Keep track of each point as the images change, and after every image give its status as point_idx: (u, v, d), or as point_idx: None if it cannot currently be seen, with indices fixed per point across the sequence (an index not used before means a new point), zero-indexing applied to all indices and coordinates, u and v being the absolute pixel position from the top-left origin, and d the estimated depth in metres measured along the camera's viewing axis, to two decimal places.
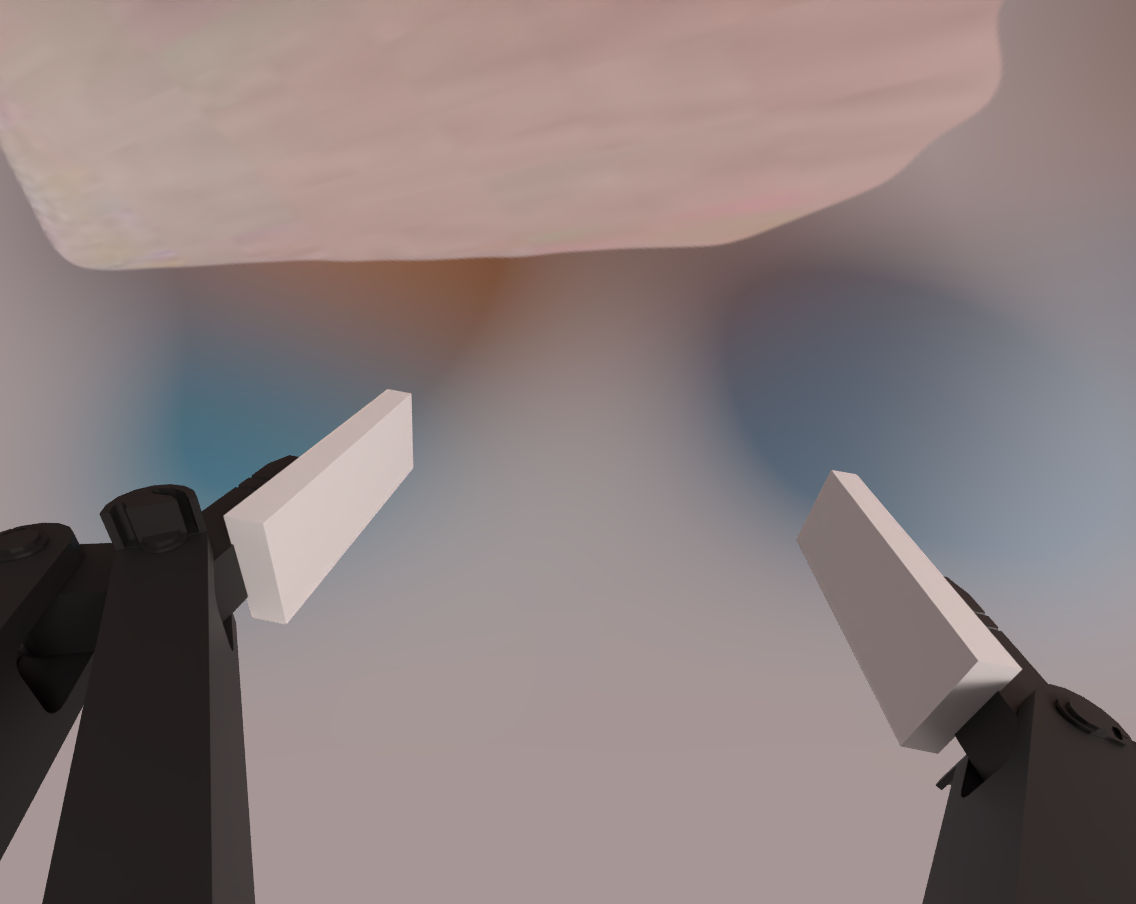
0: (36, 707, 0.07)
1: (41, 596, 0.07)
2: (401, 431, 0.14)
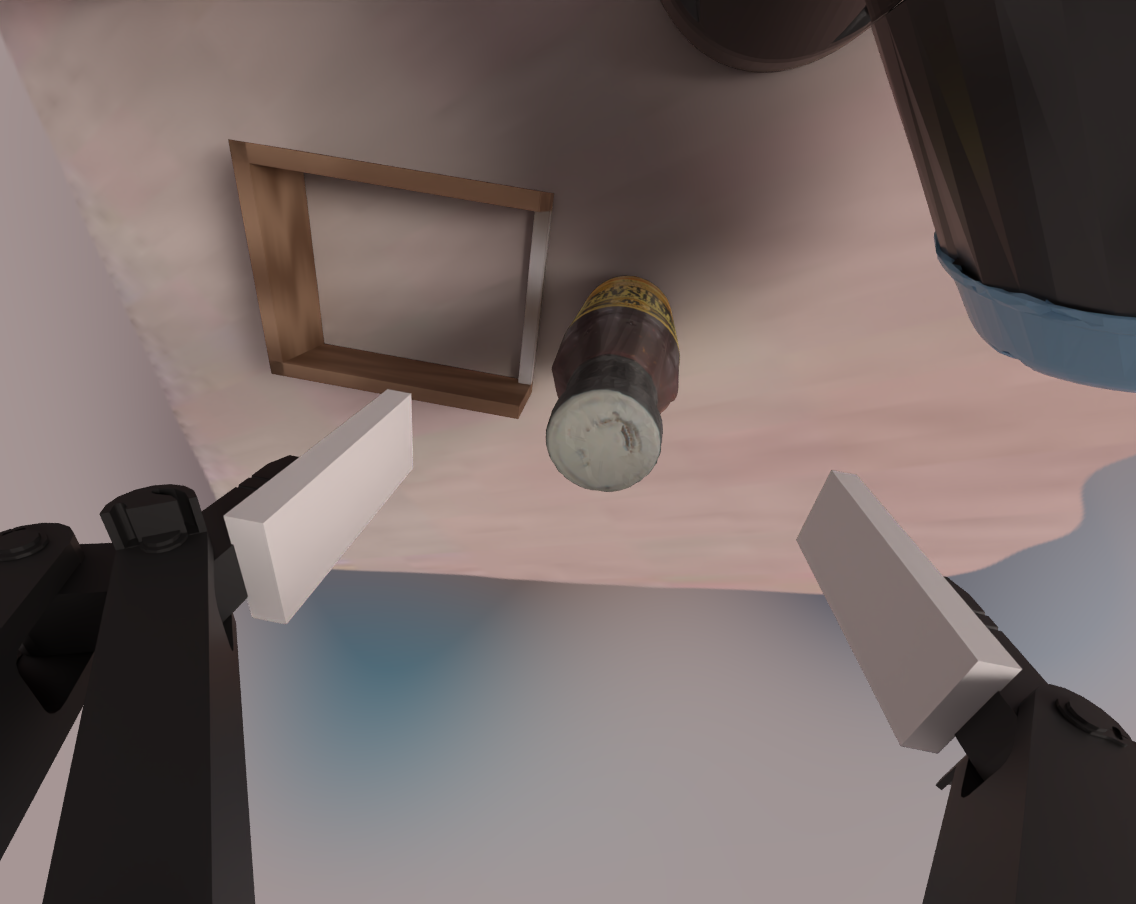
0: (36, 707, 0.07)
1: (41, 596, 0.07)
2: (401, 431, 0.14)
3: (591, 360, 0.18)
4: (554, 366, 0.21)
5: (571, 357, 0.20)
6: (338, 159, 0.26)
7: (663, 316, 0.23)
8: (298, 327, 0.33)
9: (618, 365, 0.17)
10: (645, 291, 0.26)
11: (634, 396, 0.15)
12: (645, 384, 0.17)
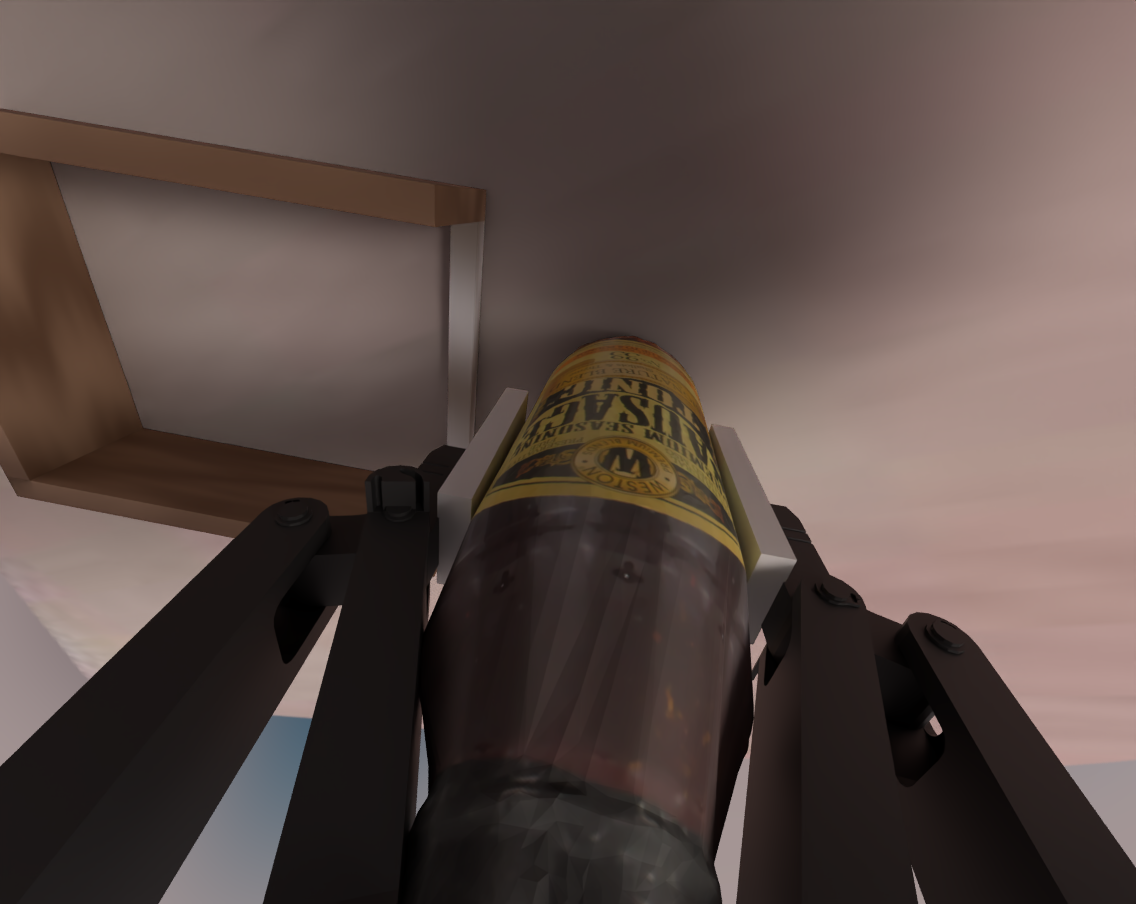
0: (278, 656, 0.08)
1: (299, 563, 0.08)
2: (521, 425, 0.15)
3: (478, 805, 0.05)
4: None
5: (453, 664, 0.07)
6: (14, 117, 0.12)
7: (705, 484, 0.09)
8: (68, 415, 0.20)
9: None
10: (657, 392, 0.12)
11: None
12: None
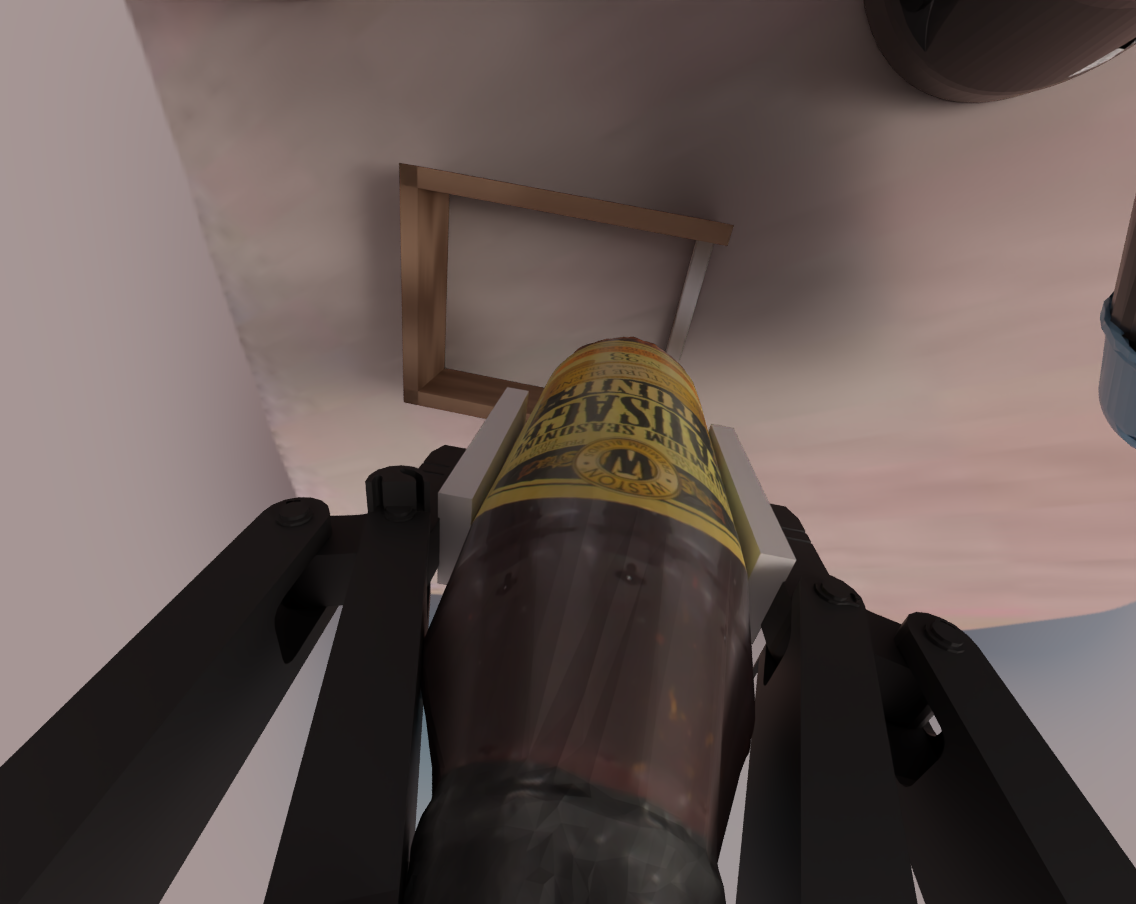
0: (278, 657, 0.08)
1: (300, 563, 0.08)
2: (521, 425, 0.15)
3: (483, 807, 0.05)
4: None
5: (456, 666, 0.07)
6: (516, 186, 0.24)
7: (706, 485, 0.09)
8: (430, 354, 0.32)
9: None
10: (657, 393, 0.12)
11: None
12: None
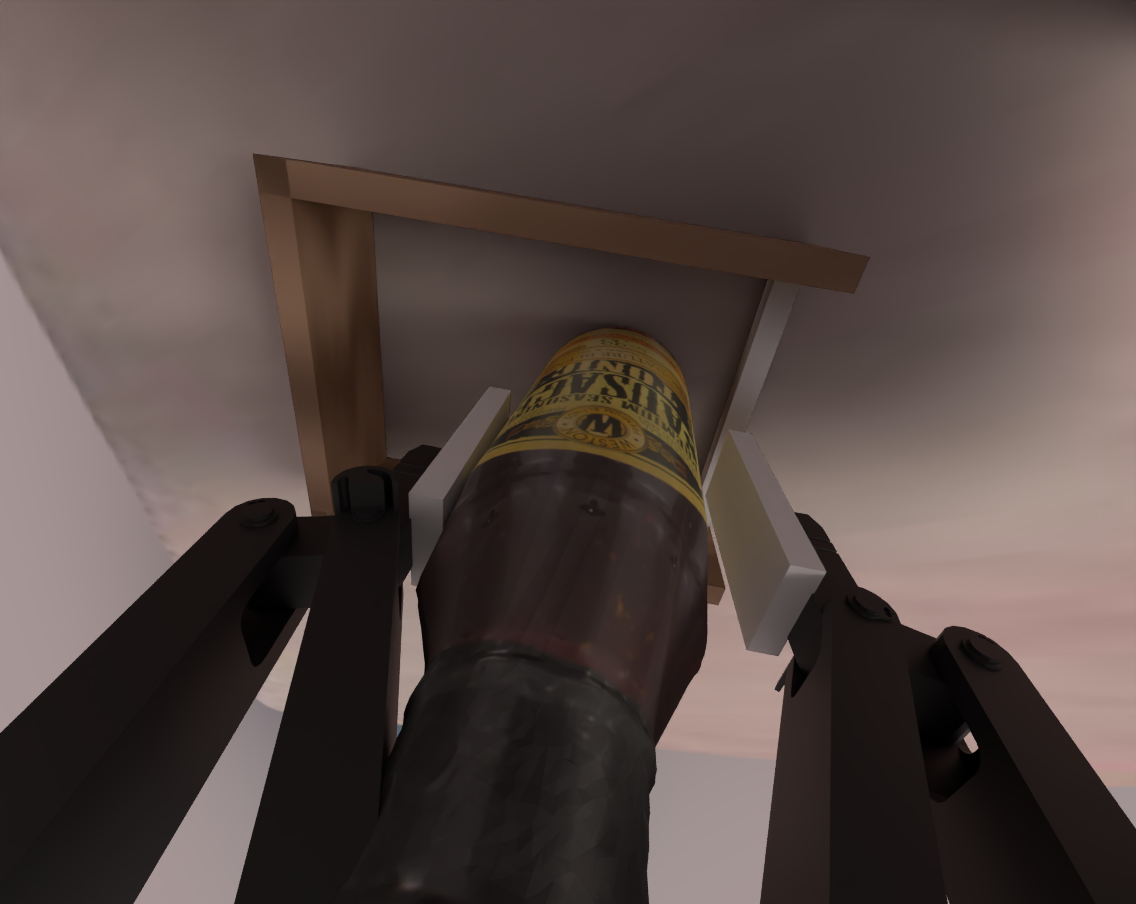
0: (246, 660, 0.08)
1: (266, 564, 0.08)
2: (503, 424, 0.15)
3: (459, 669, 0.06)
4: (418, 586, 0.09)
5: (447, 585, 0.08)
6: (467, 192, 0.13)
7: (673, 447, 0.11)
8: (356, 450, 0.21)
9: (529, 728, 0.05)
10: (639, 373, 0.14)
11: None
12: (612, 816, 0.05)
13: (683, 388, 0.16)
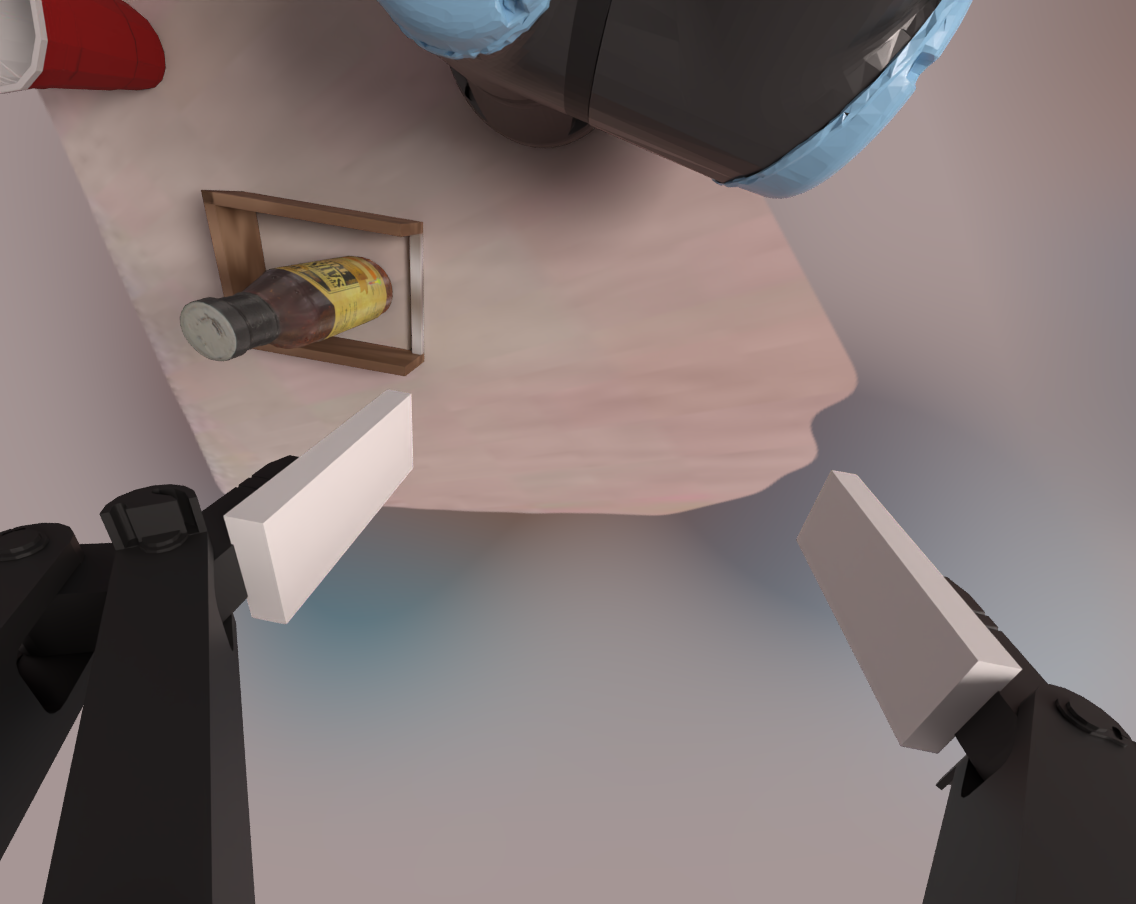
0: (36, 707, 0.07)
1: (41, 596, 0.07)
2: (401, 431, 0.14)
3: None
4: None
5: None
6: (271, 203, 0.40)
7: (320, 276, 0.37)
8: None
9: (239, 295, 0.32)
10: (333, 263, 0.40)
11: (214, 305, 0.30)
12: (250, 305, 0.32)
13: (367, 275, 0.43)
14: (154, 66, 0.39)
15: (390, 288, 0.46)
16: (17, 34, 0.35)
